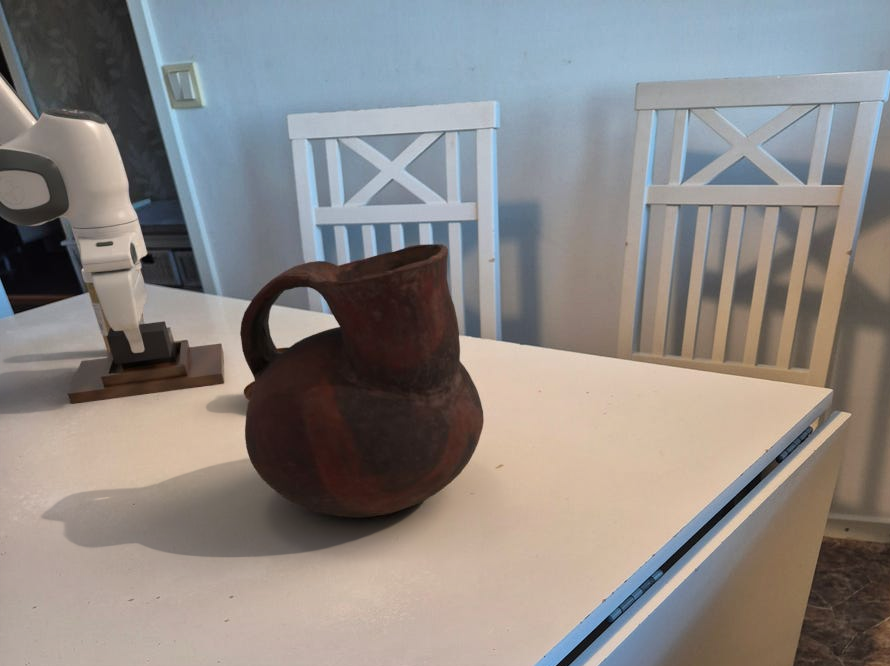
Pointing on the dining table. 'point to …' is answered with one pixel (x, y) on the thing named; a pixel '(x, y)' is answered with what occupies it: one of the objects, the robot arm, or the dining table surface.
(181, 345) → the brown stepped wooden stand
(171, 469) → the dining table surface
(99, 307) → the sprinkles bottle
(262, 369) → the jug
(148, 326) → the pad
